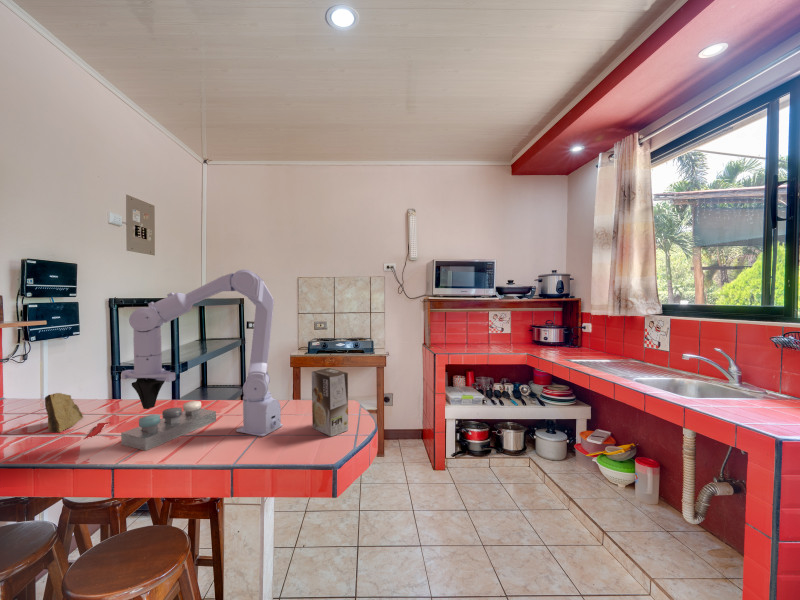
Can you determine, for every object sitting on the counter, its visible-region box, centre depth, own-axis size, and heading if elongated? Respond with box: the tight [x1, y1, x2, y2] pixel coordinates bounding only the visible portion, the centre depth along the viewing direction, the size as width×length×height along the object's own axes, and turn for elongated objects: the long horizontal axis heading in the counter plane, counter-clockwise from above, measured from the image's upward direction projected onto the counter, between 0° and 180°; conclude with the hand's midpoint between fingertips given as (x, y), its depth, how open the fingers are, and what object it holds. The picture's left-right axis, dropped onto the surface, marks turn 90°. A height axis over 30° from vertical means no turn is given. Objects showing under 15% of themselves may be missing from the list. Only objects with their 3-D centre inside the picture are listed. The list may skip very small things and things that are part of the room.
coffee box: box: [311, 367, 349, 437], centre depth 97 cm, size 9×6×16 cm
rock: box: [44, 392, 84, 433], centre depth 100 cm, size 11×9×10 cm
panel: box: [120, 408, 217, 452], centre depth 95 cm, size 9×20×3 cm, turn 159°
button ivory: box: [182, 400, 202, 416], centre depth 100 cm, size 4×4×4 cm
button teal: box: [138, 414, 161, 433], centre depth 89 cm, size 4×4×4 cm
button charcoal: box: [161, 407, 183, 424], centre depth 95 cm, size 4×4×4 cm
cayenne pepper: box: [83, 421, 112, 440], centre depth 96 cm, size 12×5×2 cm, turn 1°
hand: (149, 407), depth 89 cm, fingers closed
